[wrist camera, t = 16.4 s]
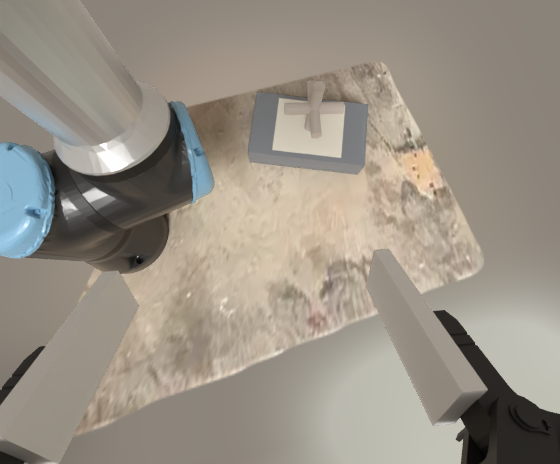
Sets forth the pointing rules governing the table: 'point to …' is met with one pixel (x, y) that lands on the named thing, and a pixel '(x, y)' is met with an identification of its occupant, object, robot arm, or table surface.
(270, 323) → the table surface
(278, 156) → the grey flat block
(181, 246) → the table surface
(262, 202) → the table surface
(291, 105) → the pipe connector
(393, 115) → the table surface
